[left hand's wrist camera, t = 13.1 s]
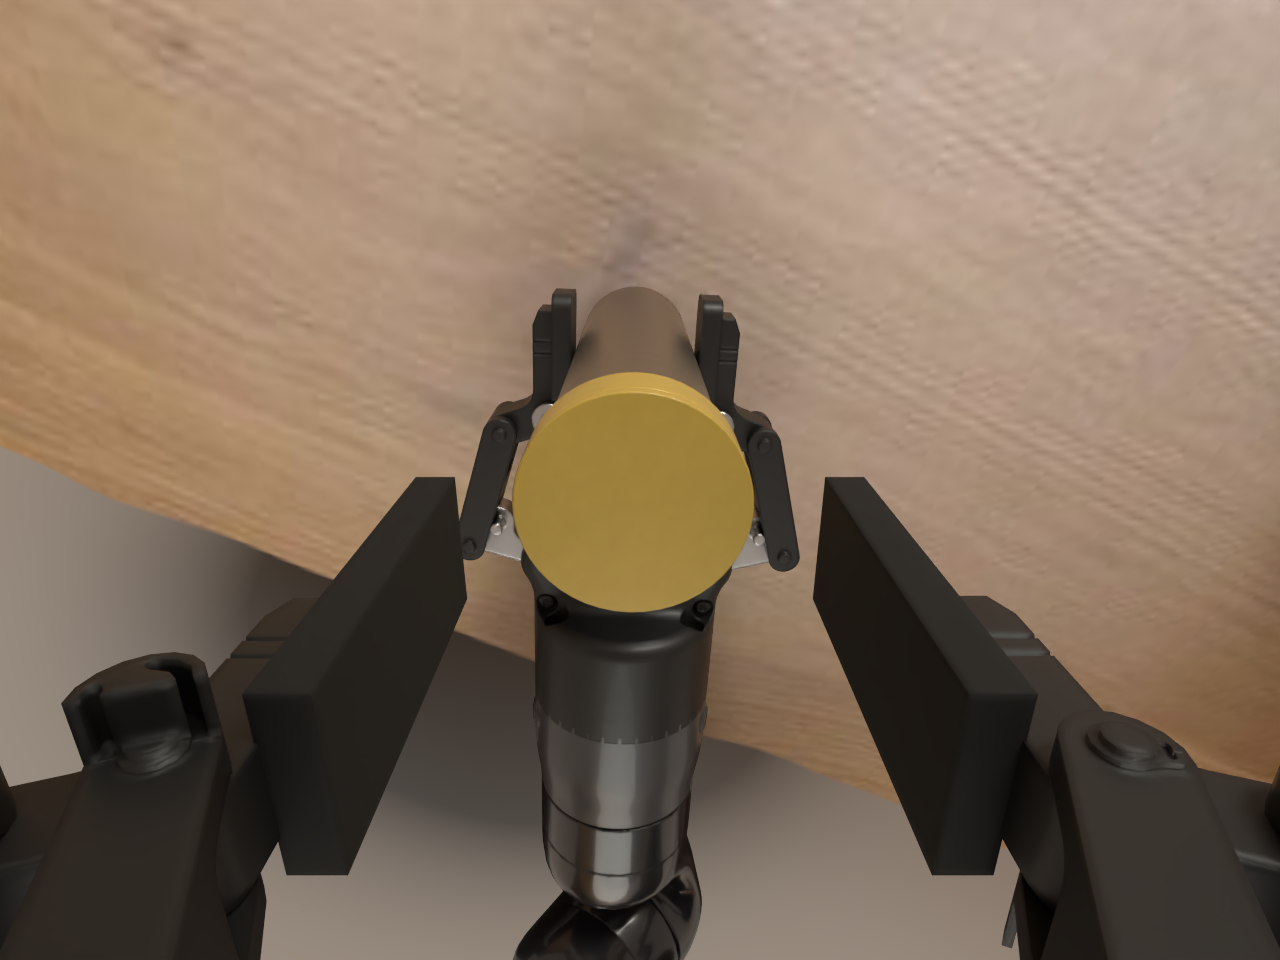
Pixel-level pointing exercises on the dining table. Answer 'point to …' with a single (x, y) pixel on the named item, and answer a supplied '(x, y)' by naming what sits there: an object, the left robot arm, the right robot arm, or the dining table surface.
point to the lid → (633, 493)
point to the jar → (634, 341)
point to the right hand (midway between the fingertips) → (638, 297)
